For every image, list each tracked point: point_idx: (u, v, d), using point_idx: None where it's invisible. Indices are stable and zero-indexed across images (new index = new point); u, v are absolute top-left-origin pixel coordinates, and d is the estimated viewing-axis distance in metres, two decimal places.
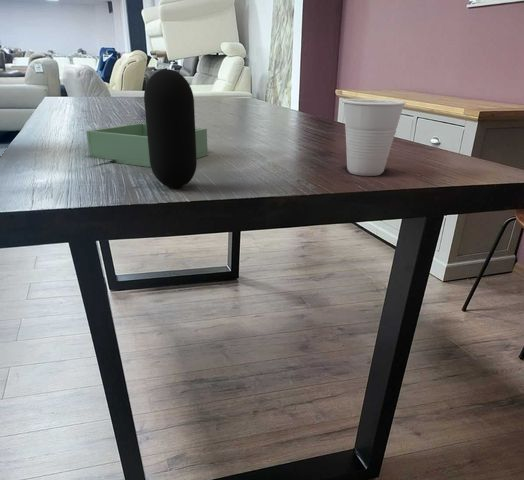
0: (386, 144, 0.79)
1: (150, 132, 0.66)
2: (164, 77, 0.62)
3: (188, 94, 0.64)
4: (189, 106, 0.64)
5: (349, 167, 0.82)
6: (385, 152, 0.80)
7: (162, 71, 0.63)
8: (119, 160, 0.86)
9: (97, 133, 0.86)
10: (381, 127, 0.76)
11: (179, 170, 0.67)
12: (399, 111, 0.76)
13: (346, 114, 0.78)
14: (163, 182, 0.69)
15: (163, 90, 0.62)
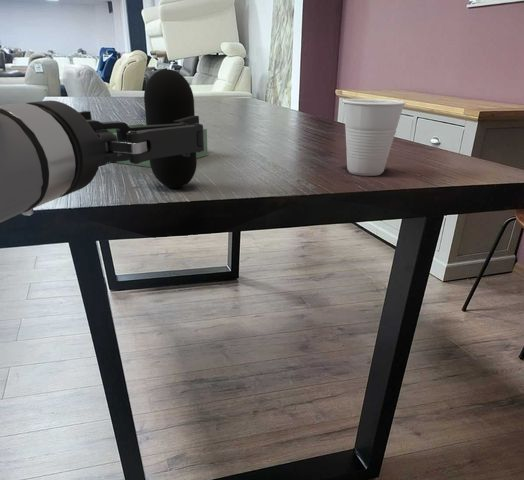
0: (386, 144, 0.79)
1: None
2: (164, 77, 0.62)
3: (188, 94, 0.64)
4: (189, 106, 0.64)
5: (349, 167, 0.82)
6: (385, 152, 0.80)
7: (162, 71, 0.63)
8: None
9: None
10: (381, 127, 0.76)
11: (179, 170, 0.67)
12: (399, 111, 0.76)
13: (346, 114, 0.78)
14: (163, 182, 0.69)
15: (163, 90, 0.62)
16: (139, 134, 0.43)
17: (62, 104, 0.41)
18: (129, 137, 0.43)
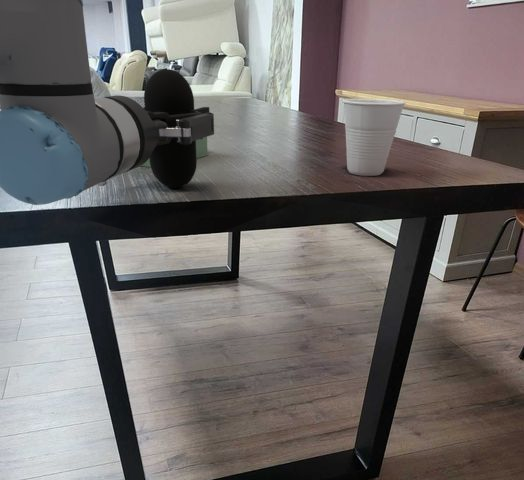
0: (386, 144, 0.79)
1: None
2: (164, 77, 0.62)
3: (188, 94, 0.64)
4: (189, 106, 0.64)
5: (349, 167, 0.82)
6: (385, 152, 0.80)
7: (162, 71, 0.63)
8: None
9: None
10: (381, 127, 0.76)
11: (179, 170, 0.67)
12: (399, 111, 0.76)
13: (346, 114, 0.78)
14: (163, 182, 0.69)
15: (163, 90, 0.62)
16: (189, 121, 0.56)
17: (128, 98, 0.52)
18: (183, 124, 0.55)
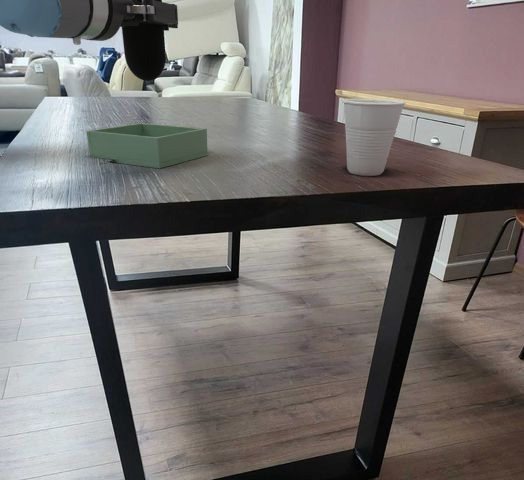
0: (386, 144, 0.79)
1: None
2: None
3: None
4: None
5: (349, 167, 0.82)
6: (385, 152, 0.80)
7: None
8: (119, 160, 0.86)
9: (97, 133, 0.86)
10: (381, 127, 0.76)
11: (150, 60, 0.78)
12: (399, 111, 0.76)
13: (346, 114, 0.78)
14: (136, 73, 0.80)
15: None
16: None
17: None
18: (147, 1, 0.66)
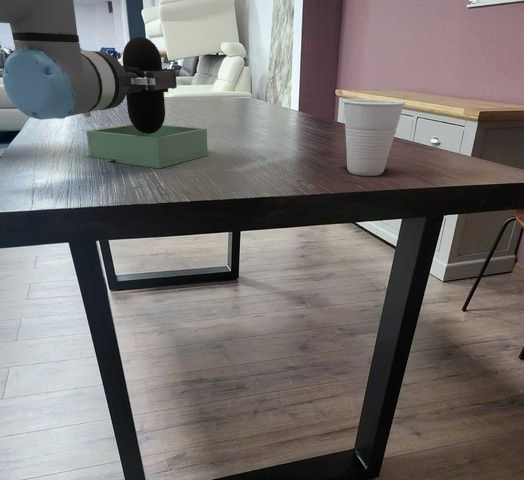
0: (386, 144, 0.79)
1: None
2: (138, 42, 0.81)
3: (156, 56, 0.82)
4: (157, 66, 0.83)
5: (349, 167, 0.82)
6: (385, 152, 0.80)
7: (136, 38, 0.81)
8: (119, 160, 0.86)
9: (97, 133, 0.86)
10: (381, 127, 0.76)
11: (151, 117, 0.86)
12: (399, 111, 0.76)
13: (346, 114, 0.78)
14: (138, 128, 0.88)
15: (136, 52, 0.81)
16: (154, 73, 0.74)
17: (107, 53, 0.71)
18: (149, 74, 0.74)
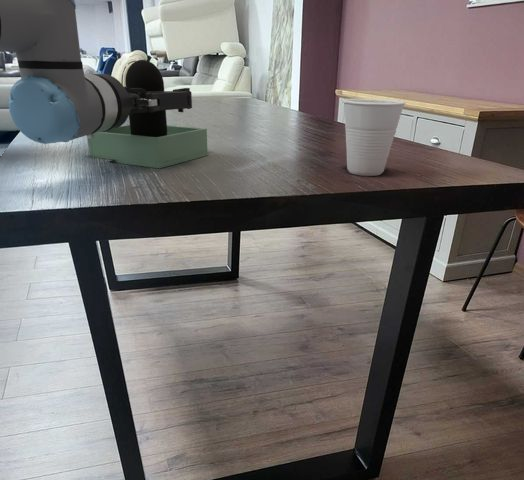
0: (386, 144, 0.79)
1: None
2: (140, 65, 0.82)
3: (158, 78, 0.84)
4: (159, 88, 0.85)
5: (349, 167, 0.82)
6: (385, 152, 0.80)
7: (138, 61, 0.83)
8: (119, 160, 0.86)
9: (97, 133, 0.86)
10: (381, 127, 0.76)
11: None
12: (399, 111, 0.76)
13: (346, 114, 0.78)
14: None
15: (139, 75, 0.82)
16: (153, 94, 0.74)
17: (109, 75, 0.72)
18: (147, 96, 0.74)
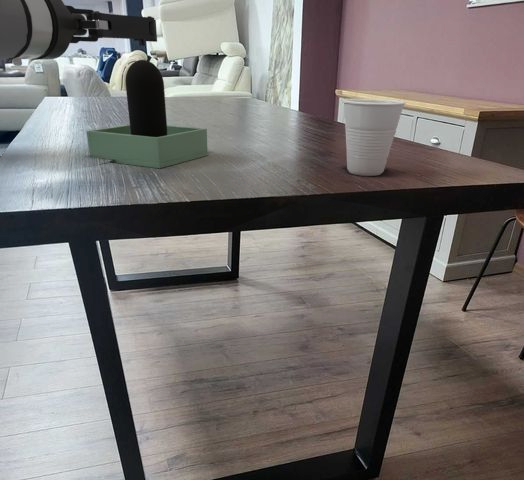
0: (386, 144, 0.79)
1: (130, 108, 0.86)
2: (140, 65, 0.82)
3: (158, 78, 0.84)
4: (159, 88, 0.85)
5: (349, 167, 0.82)
6: (385, 152, 0.80)
7: (138, 61, 0.83)
8: (119, 160, 0.86)
9: (97, 133, 0.86)
10: (381, 127, 0.76)
11: None
12: (399, 111, 0.76)
13: (346, 114, 0.78)
14: None
15: (139, 75, 0.82)
16: (101, 13, 0.58)
17: None
18: (94, 15, 0.58)
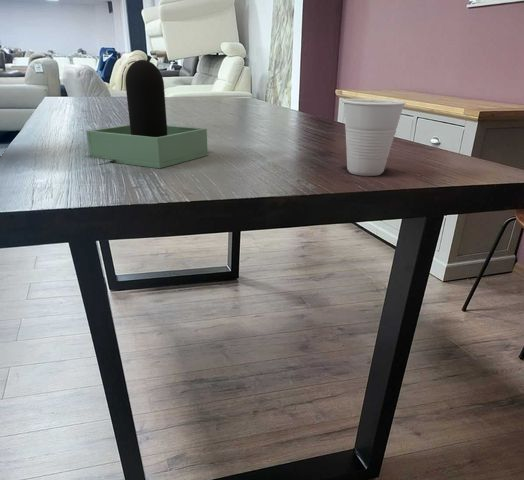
0: (386, 144, 0.79)
1: (130, 108, 0.86)
2: (140, 65, 0.82)
3: (158, 78, 0.84)
4: (159, 88, 0.85)
5: (349, 167, 0.82)
6: (385, 152, 0.80)
7: (138, 61, 0.83)
8: (119, 160, 0.86)
9: (97, 133, 0.86)
10: (381, 127, 0.76)
11: None
12: (399, 111, 0.76)
13: (346, 114, 0.78)
14: None
15: (139, 75, 0.82)
16: None
17: None
18: None
